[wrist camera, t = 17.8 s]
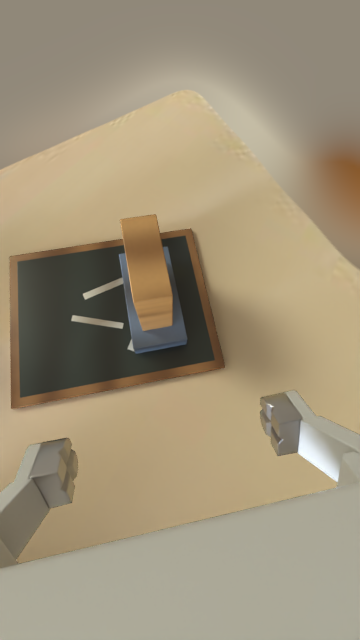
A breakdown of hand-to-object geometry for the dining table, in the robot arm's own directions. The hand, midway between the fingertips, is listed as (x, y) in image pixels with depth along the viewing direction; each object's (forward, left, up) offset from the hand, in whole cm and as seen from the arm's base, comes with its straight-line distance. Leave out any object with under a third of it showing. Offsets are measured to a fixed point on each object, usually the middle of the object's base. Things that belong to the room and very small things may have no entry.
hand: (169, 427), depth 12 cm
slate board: (-12, +3, -15) cm, 20 cm away
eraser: (-10, +6, -15) cm, 19 cm away
